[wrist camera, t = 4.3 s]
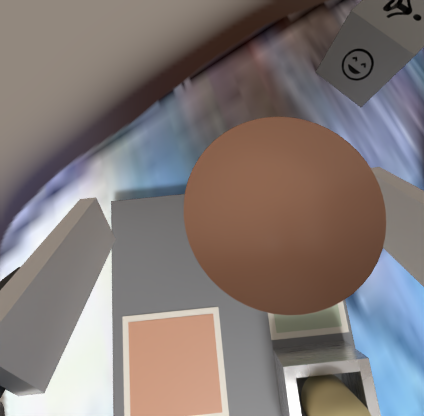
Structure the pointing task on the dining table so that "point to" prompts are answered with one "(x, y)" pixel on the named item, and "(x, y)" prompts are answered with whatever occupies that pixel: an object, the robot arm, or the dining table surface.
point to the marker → (284, 215)
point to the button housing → (323, 372)
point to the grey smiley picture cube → (373, 46)
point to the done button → (330, 398)
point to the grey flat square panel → (193, 326)
